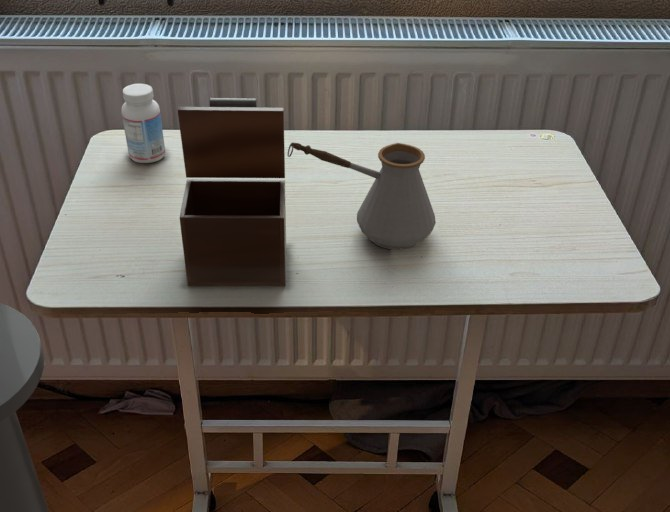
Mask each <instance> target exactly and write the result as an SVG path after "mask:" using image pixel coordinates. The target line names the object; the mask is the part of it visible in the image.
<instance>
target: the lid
mask: <svg viewBox="0 0 670 512" xmlns="http://www.w3.org/2000/svg"><path fill="white" fill-rule="evenodd" d="M257 100H258V99H257V98H253V97H252V98H251V97H250V98H249V97H209V106H177V117H178V125H179V132H180V141H181V149H182V156H183V162H184V163H183V164H184V171H185V178H187V179H208V178H209V179H286V161H285V160H286V158H285V151H286V150H285V109H284V107H258V105H257V104H258V101H257Z"/></svg>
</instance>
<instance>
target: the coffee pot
mask: <svg viewBox="0 0 670 512" xmlns="http://www.w3.org/2000/svg"><path fill="white" fill-rule="evenodd" d="M294 149H295V150H296V151H301V152H303V153H304V154H305V156H308V155H311V156H313V157H315V158H316V159H319V160H320V161H322V162H326V163H329V164H333V165H336V166H340V167H343V168H346V169H349V170H350V169H351V170H353V171H356V172H358V173H361V174H363V175H366V176H368V177H371V178H374V181H373V183H372V184H371V187H370V188H369V190H368V192H367V194H366V195H365V198H364V199H363V201H362V203H361V205H360V207H359V209H358V210H357V213H356V222H357V225H358V227H359V229H360V232H361V233H363V234H364V236H365V237H366V238H368V239H369V240H370V241H371V242H372V243H373V244H375V245H377V246H378V247H381V248H384V249H388V250H399V251H400V250H406V249H410V248H413V247H414V246H416V245H418V244H420V243H421V242H423V241H424V240H426V239H427V238H428V237H429V236H430V235H431V233H432V232H433V231H434V228H435V226H436V222H437V221H436V214H435V211H434V209H433V206H432V203H431V201H430V198H429V194H428V191H427V189H426V185H425V182H424V180H423V177H422V174H421V172H420V167H421V165H422V164H423V163H424V161H425V159H426V155H425V153H424V152H423V150H422V149H420V148H418V147H416V146H414V145H411V144H407V143H401V142H395V143H390V144H388V145H385V146H383V147H382V148H380V149H379V151H378V153H377V158H378V160H379V161H380V163H381V168H380V170H379V171H378V170H375V169H371V168H368V167H365V166H362V165H359V164H356V163H353V162H351V161H350V160H347V159H345V158H343V157H340V156H339V155H338V156H337V155H335V154H333V153H330V152H328V151H326V150H321V149H317V148H316V149H315V148H312V147H311V146H310V145H303V144H301V143H300V142H290V144H289V146H288V149H287V157H288V158H291V157H292V155H293V152H294Z"/></svg>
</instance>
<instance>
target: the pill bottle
mask: <svg viewBox="0 0 670 512" xmlns="http://www.w3.org/2000/svg"><path fill="white" fill-rule="evenodd" d="M122 97H123V100H124V103H123V104H122V105H121V109H120V110H121V111H120V112H121V118H122V124H123V129H124V135H125V142H126V148H127V152H128V156H129V158H130V159H132V161H134V162H136V163H140V164H151V163H156V162H158V161H160V160H162V159H163V158H164V157H165V156H166V146H165V138H164V132H163V131H164V130H163V124H162V116H161V108H160V105H159V103H158V102H157V101H156V100H154V90H153V87H152V86H151V85H149V84H146V83H132V84H129V85H126V86H125V87H124V88H122Z"/></svg>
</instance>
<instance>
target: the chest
mask: <svg viewBox="0 0 670 512" xmlns="http://www.w3.org/2000/svg"><path fill="white" fill-rule="evenodd" d="M182 197H183V198H182V203H181V208H180V213H179V224H180V225H179V226H180V234H181V243H182V250H183V258H184V267H185V275H186V284H187V286H188V287H286V284H287V282H286V281H287V279H286V278H287V211H286V209H287V208H286V207H287V206H286V180H285V179H220V178H209V179H208V178H187V179H186V181H185V187H184V192H183V196H182Z"/></svg>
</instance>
